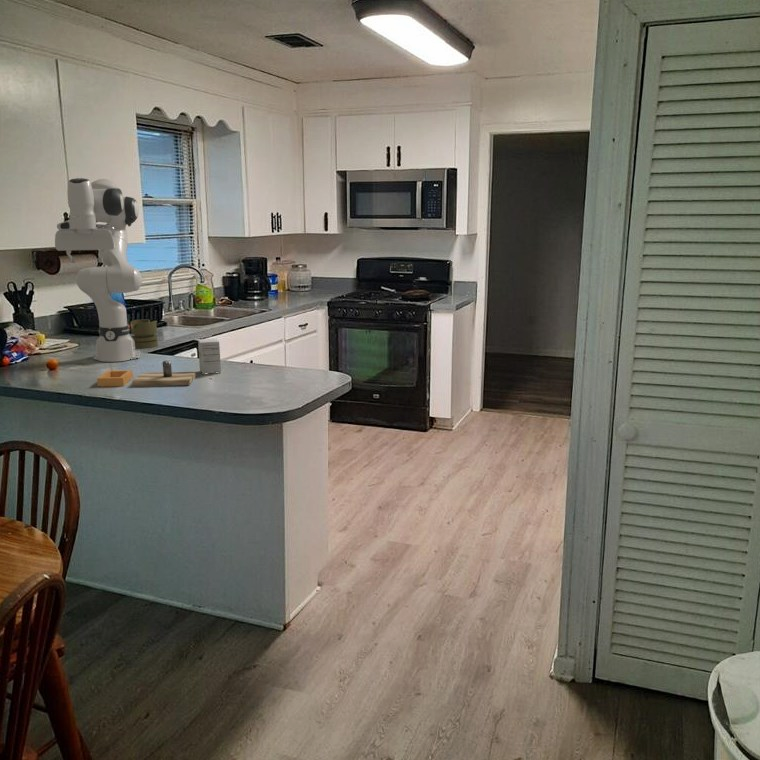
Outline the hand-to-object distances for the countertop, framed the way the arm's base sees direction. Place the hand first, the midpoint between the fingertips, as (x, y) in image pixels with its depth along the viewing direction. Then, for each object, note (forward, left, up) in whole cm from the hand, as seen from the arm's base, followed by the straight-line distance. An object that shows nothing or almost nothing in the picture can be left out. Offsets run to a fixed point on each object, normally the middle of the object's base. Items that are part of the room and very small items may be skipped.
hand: (86, 262), depth 262 cm
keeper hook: (+14, +29, -41) cm, 52 cm away
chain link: (+12, +10, -43) cm, 45 cm away
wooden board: (+13, +28, -43) cm, 53 cm away
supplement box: (-2, +42, -43) cm, 60 cm away
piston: (-61, +3, -43) cm, 75 cm away
